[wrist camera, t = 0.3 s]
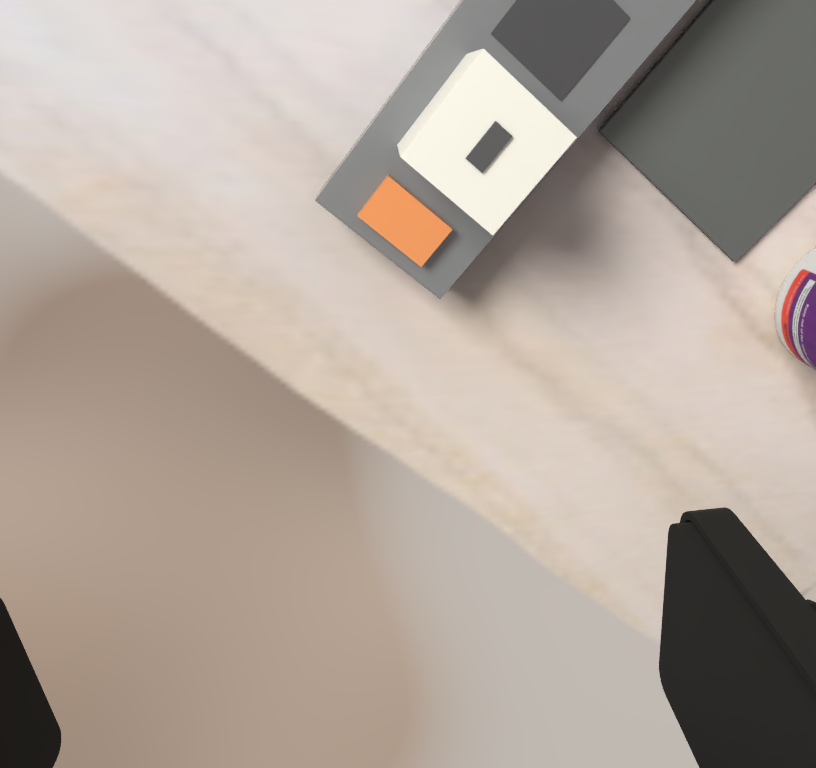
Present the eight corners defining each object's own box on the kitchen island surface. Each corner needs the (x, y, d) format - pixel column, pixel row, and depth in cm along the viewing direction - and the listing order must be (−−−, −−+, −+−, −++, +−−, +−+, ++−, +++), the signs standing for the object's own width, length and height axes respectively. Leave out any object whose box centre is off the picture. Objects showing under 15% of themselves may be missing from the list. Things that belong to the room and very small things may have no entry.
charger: (466, 53, 30) (484, 48, 25) (546, 128, 32) (577, 137, 27) (397, 145, 32) (400, 157, 27) (475, 212, 33) (493, 236, 28)
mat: (764, -61, 32) (768, -63, 32) (895, 98, 35) (900, 98, 35) (598, 131, 35) (600, 131, 35) (732, 260, 38) (735, 262, 38)
